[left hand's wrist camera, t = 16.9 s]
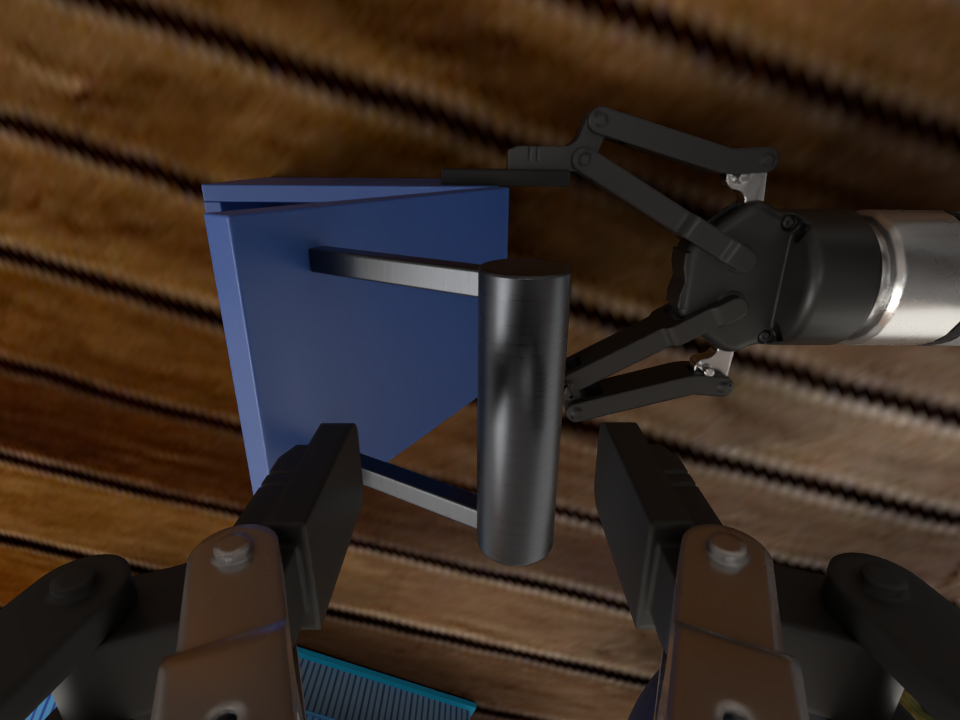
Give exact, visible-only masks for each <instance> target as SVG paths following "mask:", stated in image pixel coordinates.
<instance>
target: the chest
mask: <svg viewBox="0 0 960 720" xmlns="http://www.w3.org/2000/svg"><path fill="white" fill-rule="evenodd" d="M483 187H499V186H498V185H441V178H307V177H266V178H257V179H247V180H238V181H228V182H218V183H209V184H202V191H203V197H204V201H206V202H204V204H205V210H206V213H210V212H221V211H232V210H243V209H254V208H265V207H276V206H287V205H298V204H308V203H319V202H330V201H341V200H352V199H363V198H374V197H385V196H396V195H407V194H418V193H429V192H440V191H451V190H461V189H472V188H483Z"/></svg>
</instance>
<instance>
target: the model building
mask: <svg viewBox="0 0 960 720" xmlns="http://www.w3.org/2000/svg"><path fill="white" fill-rule="evenodd" d="M297 650H298V655H299V662H300V670H301V679H302V687H303V695H304V704H305V712H306V720H470V717H471V715H472V714H473V712H474V711H475V709H476V703H474V702H471V701H468V700H465V699H462V698H458V697H455V696H452V695H449V694H446V693H443V692H440V691H436V690H433V689H430V688H427V687H424V686H421V685H417V684H414V683H411V682H408V681H405V680H402V679H399V678H395V677H392V676H389V675H386V674H383V673H380V672H376V671H373V670H370V669H367V668H364V667H361V666H358V665H354V664H351V663H348V662H345V661H342V660H339V659H335V658H332V657H329V656H326V655H323V654H320V653H317V652H313V651H310V650H307V649H304V648H301V647H298V646H297ZM56 707H57V705H56V703H55V700H54V698H53V696H52V693H51V694H50V695H49V696H48V697H47V698H46V699H45V700H44V701H43V702H42V703H41V704H40V705H39V706H38V707H37V708H36V709H35V710H34V711H33V712H32V713H31V714H30V715H29V716H28V717H27V718H26V719H25V720H44V719H45V718H46V717H47V716H48V715H49V714H50V713H51V712H52V711H53V710H54V709H55V708H56Z"/></svg>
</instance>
